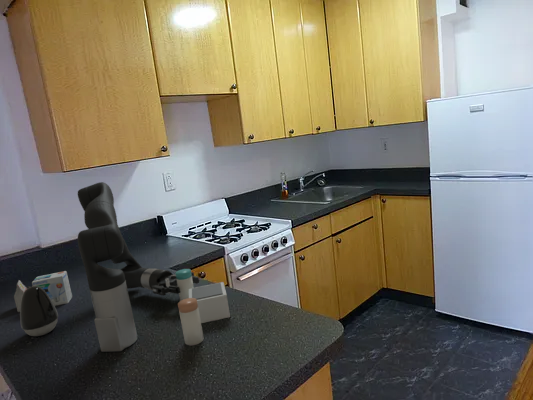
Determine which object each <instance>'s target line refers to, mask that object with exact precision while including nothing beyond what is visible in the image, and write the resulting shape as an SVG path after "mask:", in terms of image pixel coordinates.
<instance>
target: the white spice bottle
mask: <svg viewBox="0 0 533 400" xmlns="http://www.w3.org/2000/svg"><path fill="white" fill-rule="evenodd" d="M177 307H178V308H177V309H178V312H179V317H180V323H181V328H182V333H183V340H184V344H185V345H186V346H196V345H198V344H200V343H202V342H203V341H204V340H205V339H204V337H205V336H204V332H203V327H202V323H201V320H200V315H199V309H198V304H197V299H195V298H187V299H184V300H181V301H180V300H179V302H178V303H177Z"/></svg>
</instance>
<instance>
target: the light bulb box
mask: <svg viewBox="0 0 533 400" xmlns="http://www.w3.org/2000/svg"><path fill="white" fill-rule="evenodd" d="M31 285H32V286H38V287H40V288H42V289H43V290H44V291H45V292H46V293H47V294H48V296H49V297H50V299H51V300H52V302H53V304H54V306H55V307H57V306H61V305H65V304H69V303H70V301H71V299H72V298H73V293H72V290H71V286H70V281H69V277H68V272H67V271H66V270H64V271H59V272H54V273H50V274H49V273H48V274H44V275H39V276H36V277H35V278H34V280H33V281H32V282H31ZM32 286H31V287H32Z"/></svg>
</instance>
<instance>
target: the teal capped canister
mask: <svg viewBox="0 0 533 400" xmlns="http://www.w3.org/2000/svg"><path fill="white" fill-rule="evenodd" d="M191 272H192V270H191V269H190V268H182V269H179V270H177V271H176V272H175V275H176V279H177V285H178V286H177V287H179V288H180V293H179V294H178V296H179V302H180V301H181V300H184V299H187V298H189V289H191V288H195V286H194V283H193V280H192V274H191Z"/></svg>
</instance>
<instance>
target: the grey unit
mask: <svg viewBox="0 0 533 400" xmlns="http://www.w3.org/2000/svg"><path fill="white" fill-rule="evenodd" d="M189 298H195V299H197V304H198V309H199V315H200V320H201V324H204V323H209V322H214V321H218V320H222V319H226V318H230V317H231V314H230V308H229V302H228V300H229V299H228V295H227V291H226V287H225V283H224V281H220V282H215V283H211V284H207V285H206V284H205V285H201V286H196V287H194V288H191V289H189Z"/></svg>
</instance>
